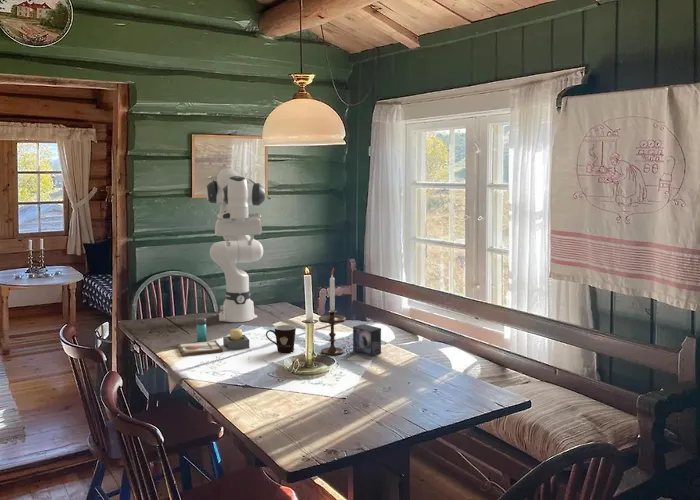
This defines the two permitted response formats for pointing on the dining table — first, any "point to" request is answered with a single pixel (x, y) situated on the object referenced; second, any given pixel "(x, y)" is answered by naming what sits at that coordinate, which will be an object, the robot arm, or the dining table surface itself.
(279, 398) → the dining table surface
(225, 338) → the button housing
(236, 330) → the button cap
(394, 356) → the dining table surface
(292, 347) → the coffee mug
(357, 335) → the small box
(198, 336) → the teal bottle
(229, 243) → the robot arm
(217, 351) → the board
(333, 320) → the candlestick
